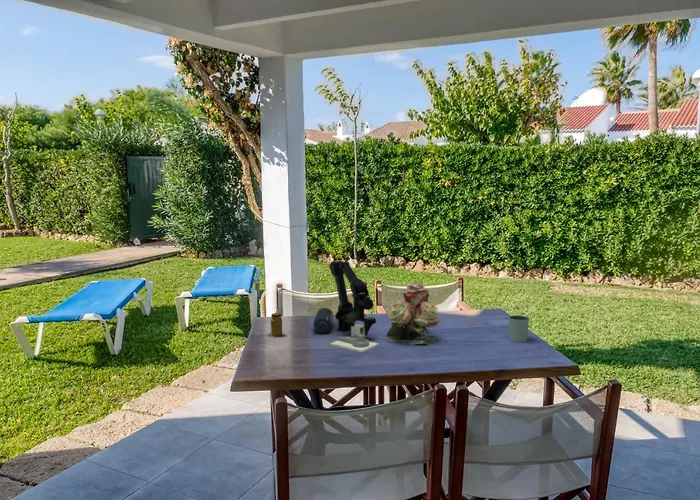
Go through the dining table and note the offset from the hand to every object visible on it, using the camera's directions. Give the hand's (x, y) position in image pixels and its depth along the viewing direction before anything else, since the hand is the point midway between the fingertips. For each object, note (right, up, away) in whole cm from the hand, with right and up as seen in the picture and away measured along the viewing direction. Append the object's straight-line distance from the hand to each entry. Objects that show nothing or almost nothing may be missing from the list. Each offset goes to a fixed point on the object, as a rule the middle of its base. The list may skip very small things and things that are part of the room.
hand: (359, 334), depth 288 cm
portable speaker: (-20, 0, +16) cm, 26 cm away
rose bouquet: (+30, -2, -4) cm, 30 cm away
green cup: (+83, -2, -8) cm, 83 cm away
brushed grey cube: (0, -1, 0) cm, 1 cm away
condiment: (-44, -1, +4) cm, 44 cm away
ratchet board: (-3, -3, -14) cm, 15 cm away
